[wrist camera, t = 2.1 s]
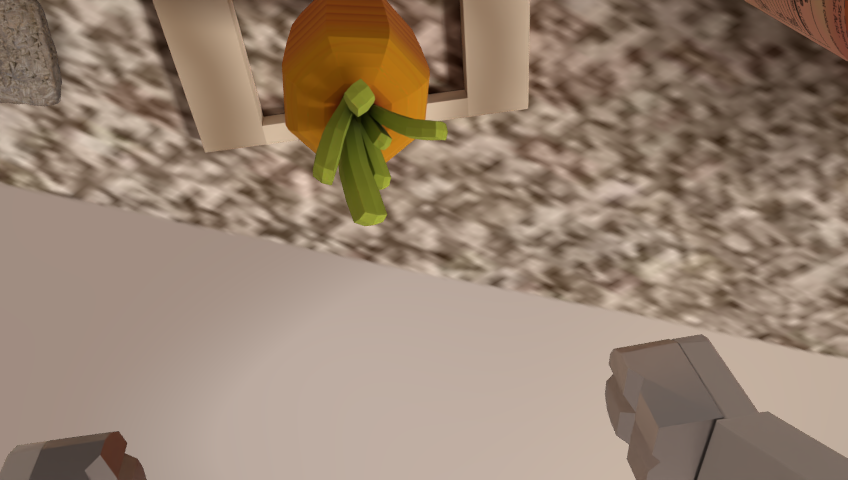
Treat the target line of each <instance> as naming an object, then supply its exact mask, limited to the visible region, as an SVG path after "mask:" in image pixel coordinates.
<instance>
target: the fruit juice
mask: <svg viewBox="0 0 848 480" xmlns="http://www.w3.org/2000/svg"><path fill="white" fill-rule="evenodd" d="M744 1H746V2H748V3H749V4H751V5H753V6H754V7H756V8H758V9H759V10H761V11H763V12H765V13H766V14H768V15H770V16H771V17H773V18H775V19H776V20H778V21H780V22H781V23H783V24H785V25H787V26H788V27H790V28H792V29H793V30H795V31H797V32H798V33H800V34H802V35H804V36H805V37H807V38H809V39H810V40H812V41H814V42H815V43H817V44H819V45H821V46H822V47H824V48H826V49H827V50H829V51H831V52H832V53H834V54H836V55H838V56H839V57H841V58H843V59H844V60H846V61H848V0H744Z"/></svg>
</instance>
